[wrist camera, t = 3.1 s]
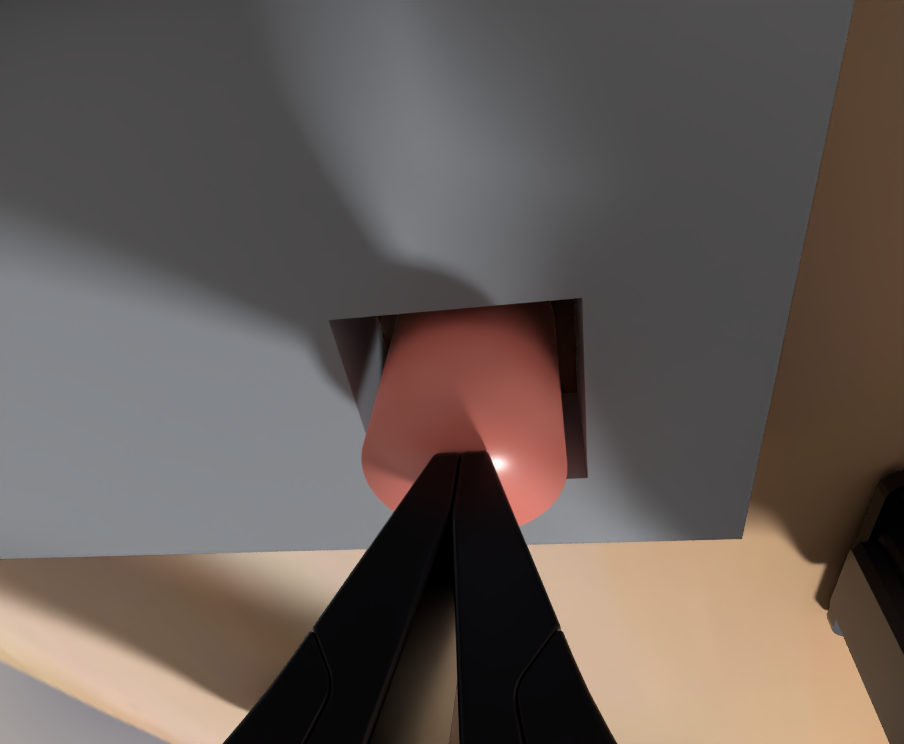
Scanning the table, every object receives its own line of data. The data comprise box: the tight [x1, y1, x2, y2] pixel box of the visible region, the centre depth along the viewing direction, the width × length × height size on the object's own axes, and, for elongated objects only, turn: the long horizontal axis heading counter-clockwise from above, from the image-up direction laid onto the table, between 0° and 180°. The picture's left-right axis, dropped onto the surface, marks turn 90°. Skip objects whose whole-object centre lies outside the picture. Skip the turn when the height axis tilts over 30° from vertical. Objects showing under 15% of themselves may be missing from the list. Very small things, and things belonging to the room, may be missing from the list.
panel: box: [0, 0, 855, 559], centre depth 10 cm, size 22×16×4 cm
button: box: [361, 301, 567, 526], centre depth 11 cm, size 3×3×4 cm
